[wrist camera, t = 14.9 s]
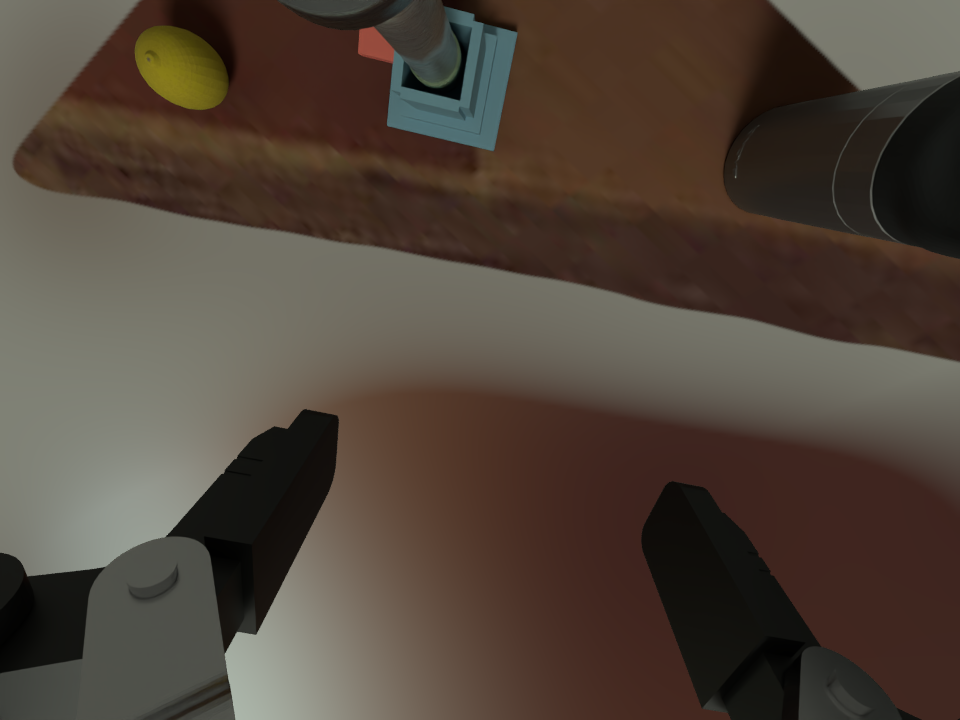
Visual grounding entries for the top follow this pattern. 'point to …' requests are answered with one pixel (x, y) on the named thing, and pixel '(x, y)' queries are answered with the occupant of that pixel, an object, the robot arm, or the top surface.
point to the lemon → (181, 67)
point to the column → (397, 32)
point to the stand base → (470, 104)
